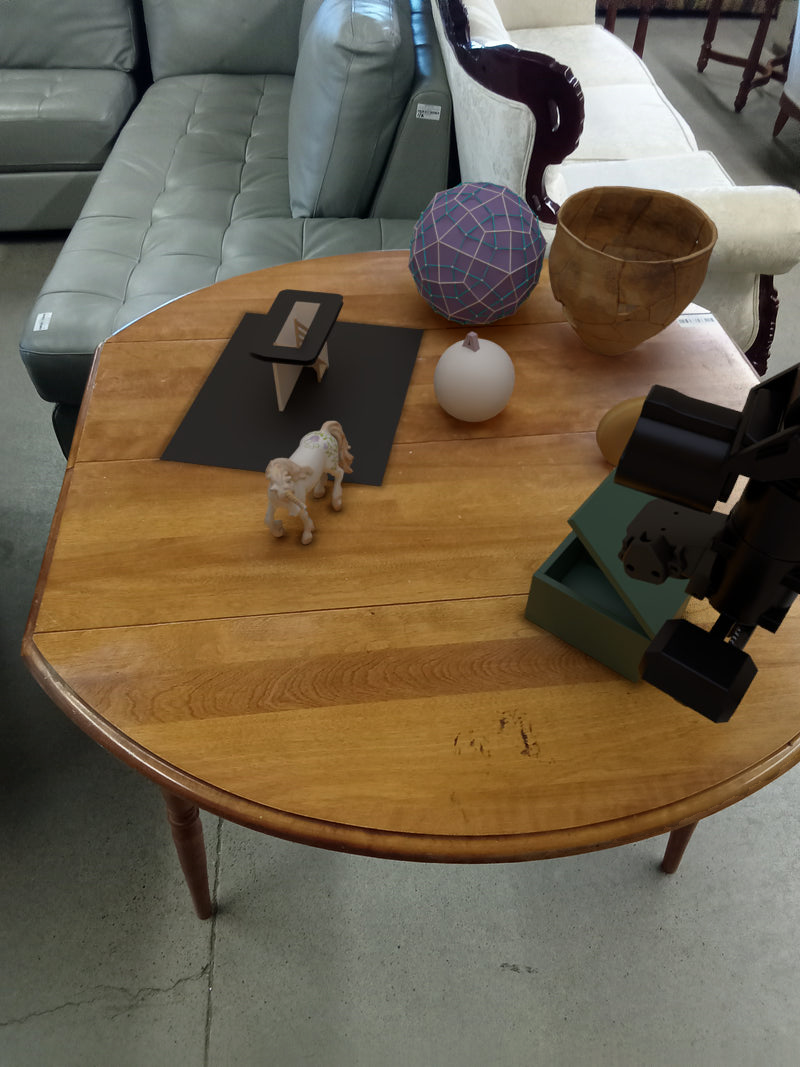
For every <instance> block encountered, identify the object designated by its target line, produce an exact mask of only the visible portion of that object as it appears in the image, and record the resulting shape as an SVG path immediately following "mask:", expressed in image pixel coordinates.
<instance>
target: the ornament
mask: <svg viewBox="0 0 800 1067" xmlns="http://www.w3.org/2000/svg"><path fill="white" fill-rule="evenodd" d="M515 382H516V372H515V368H514V363H513V361H512V359H511V357H510V356H509V354H508V353H507V351H506V350H505V349H503V348H502V347H501V346H500V345H498V344H497V343H495V342H493V341H492V340H488V339H484V338H479V337H478V333H476V332H474V331H470V332H469V333H467V334H466V336H465V339H463V340H459V341H457V342H455V343H453V344H452V345H450V346H449V347H448V348H446V350H445V351H444V352H443V353H442V355H441V356H440V358H439V359H438V361H437V364H436V366H435V370H434V373H433V390H434V394H435V397H436V399H437V402H438V404H439V406H441V408H442V409H443V410H444V411H445V412H446V413H447V414H448V415H450V416H452V417H453V418H455V419H457V420H459V421H463V422H468V423H477V422H478V423H479V422H484V421H488V420H490V419H492V418H494V417H496V416H497V415H499V414H500V413H501V412H503V410H504V409H505V407H507V405H508V403H509V402H510V399H511V398H512V395H513V393H514V390H515Z"/></svg>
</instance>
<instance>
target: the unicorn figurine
mask: <svg viewBox="0 0 800 1067" xmlns="http://www.w3.org/2000/svg"><path fill="white" fill-rule="evenodd" d="M350 448H351V447H350V446H349V445H348V442H347V440H346V438H345V435H344V433H343V431H342V427H341V425H340V424H339V423H338V422H336V421H327V422H325V423H324V424H323V425H322V428H321V430H320V431H314V432H311V433H308V434H307V435H305V436H304V437H303V438H302V439H301V441H300V446H299V447H298V449H297V450H296V451H295V452H294V453H293V455H292V456H291V457H290V458H289V459H287V458H277V459H274V460H271V461H270V463H269V464H268V466H267V468H266V472H265V480H266V481H269V482H268V487H267V499H268V502H267V508H266V512H265V515H264V521H263V522H264V524H265V525H266V527H267V528H268V529H269V532H270V534H271V535H272V536H274V537H276V538H280V537H283V536H285V535H286V532H287V530H286V529H285V527H284V522H283V521H282V519H275V514H276V512H277V510H278V509H279V508H280V509H283V510H284V509H285V510H286V509H287V511H288V516H289V517H297V516H299V518H300V519H301V521H302V522H303V529H304V531H303V533H302V536H301V539H300V541H301V543H302V544H303V545H308V544H310V543H312V541H313V533H312V532H313V531H314V530H315V529H316V528H315V526H314V521H313V519H312V518H311V517H309V512H308V511H307V505H306V501H307V495H308V493H310V492H311V491H312V490H313V493H312V496H313V497H314V498H315V499H319V498H322V497H324V495H325V494H326V488H325V487H326V486H327V483H328V480H327V479H328V477H327V473H330V474H331V475H333V476H335V481H334V482H333V490H332V493H331V498H332V502H331V505H332V508H333V509H334V511H336V512H339V511H341V510H342V509H343V501H342V498H343V487H342V485H341V484H342V482H343V481H342V478H343V474H344V472H346V473H352V472H353V470H352V469H351V468H350V464H351V463H352V462H353V461H352V459H354V457H353V456H352V455H351V454H350V453H349V452H348V451H347V450H349V449H350Z"/></svg>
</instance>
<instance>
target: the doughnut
mask: <svg viewBox="0 0 800 1067" xmlns="http://www.w3.org/2000/svg"><path fill="white" fill-rule="evenodd" d="M646 397H647V395H642V396H641V395H640V396H634V397H630V398H627V399H625V400H622V401H621V402H619V403H617V404H615V405H613V406H612V407H611V408H610V409H608V411H607V412H606V413H605V414H604V415H603V416H602V417H601V419H600V420H599V422H598V425H597V427H596V431H595V440H596V444H597V446H598V448H599V451H600V453H601V455H602V456H603V458H604V459H605V460H606V461H607V462H608V463H610V464H611V465H614V466H615V467H616V466H617V465H618V463H619V460H620V457H621V455H622V453H623V451H624V449H625V447H626V445H627V443H628V441H629V439H630V437H631V435H632V433H633V430H634V428H635V426H636V424H637V421H638V419H639V416H640V413H641V410H642V407H643V404H644V401H645V399H646Z"/></svg>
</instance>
